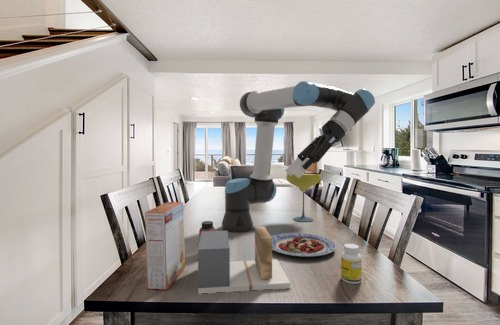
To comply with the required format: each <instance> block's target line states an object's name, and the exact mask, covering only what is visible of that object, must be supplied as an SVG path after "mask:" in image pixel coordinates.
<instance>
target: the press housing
mask: <svg viewBox="0 0 500 325" xmlns="http://www.w3.org/2000/svg"><path fill="white" fill-rule="evenodd" d="M230 248H231V247H230V240H229V231H225V230H216V231H202V233H201V237H200V242H198V248H197V279H198V280H197V284H198V286H197V287H198V288H197V290H198V295H202V294H201V293H208V294H217V293H216V292H225V293H234V292H233V291H241V292H250V291H249V290H257V291H264V290H263V289H273V290H287V288H290V289H291V282H290V280H289V278H288V276H287V274H286V273H285V271H284V269H283V267H282V266H281V264H280V262H279V260H278V259H272V279H261V278H260V275H259V272H258V269H257V266H256V263H255V260H239V261H237V260H236V261H231V260H230V257H231V256H230V254H231V250H230ZM230 291H232V292H230Z"/></svg>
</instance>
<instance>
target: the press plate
mask: <svg viewBox="0 0 500 325" xmlns="http://www.w3.org/2000/svg"><path fill="white" fill-rule="evenodd" d="M272 260H273V250H272V236H271V234H270V233H269V231H268V229H267V228H266V226H264V225H263V226H262V225H261V226H260V225H259V226H255V227H254V261H255V263H256V266H257V269H258V272H259V275H260V278H261V279H272Z"/></svg>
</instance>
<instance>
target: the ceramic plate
mask: <svg viewBox="0 0 500 325" xmlns="http://www.w3.org/2000/svg"><path fill="white" fill-rule="evenodd" d="M271 237H272V251H274V252H275V253H279V254H283V255H287V256H292V257H303V258H304V257H305V258H306V257H319V256H324V255H325V256H326V255H329V254H331V253H332V252H335V250H336V247H337V245H336V243H335V242H334V241H333V240H331V239H329V238H327V237H324V236H321V235H318V234H313V233H306V232H285V233H278V234H276V235H272V236H271Z"/></svg>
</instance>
